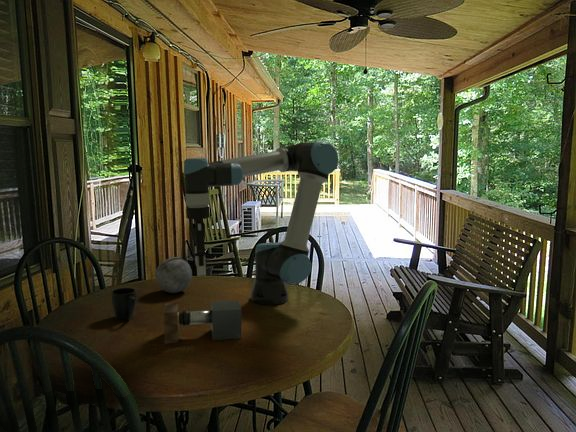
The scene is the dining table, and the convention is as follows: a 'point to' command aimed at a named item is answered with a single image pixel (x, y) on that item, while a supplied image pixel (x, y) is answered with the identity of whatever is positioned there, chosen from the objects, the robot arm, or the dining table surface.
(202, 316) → the tube
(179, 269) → the decorative orb
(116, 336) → the dining table surface
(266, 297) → the robot arm
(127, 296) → the mug
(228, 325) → the sleeve
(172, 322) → the socket
